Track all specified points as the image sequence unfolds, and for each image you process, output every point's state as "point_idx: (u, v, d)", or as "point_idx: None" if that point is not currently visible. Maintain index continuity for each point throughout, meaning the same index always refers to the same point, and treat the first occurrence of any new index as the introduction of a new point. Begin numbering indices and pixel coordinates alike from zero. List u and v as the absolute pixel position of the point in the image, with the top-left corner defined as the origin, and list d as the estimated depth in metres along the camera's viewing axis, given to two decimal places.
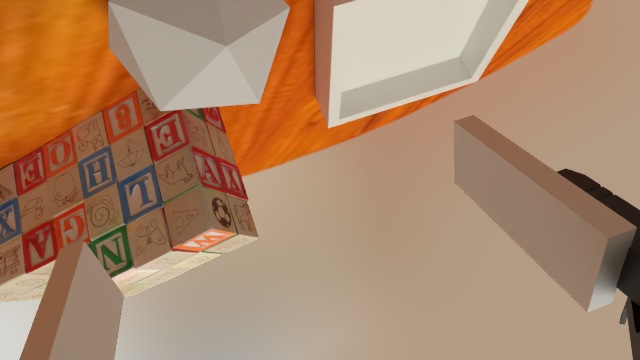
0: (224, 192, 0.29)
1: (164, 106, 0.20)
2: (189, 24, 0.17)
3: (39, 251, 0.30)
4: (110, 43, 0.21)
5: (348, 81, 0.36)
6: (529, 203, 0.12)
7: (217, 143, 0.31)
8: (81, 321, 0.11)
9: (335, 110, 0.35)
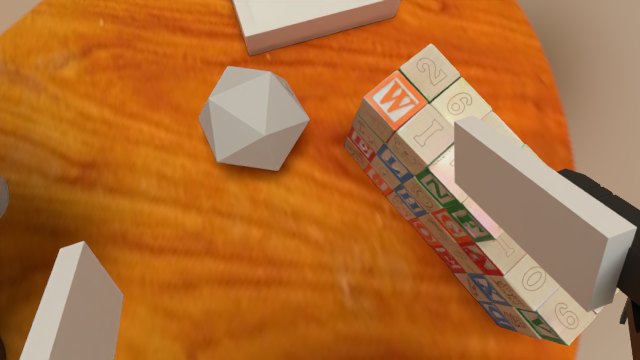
0: None
1: (260, 132, 0.30)
2: (210, 120, 0.32)
3: (482, 259, 0.29)
4: (268, 168, 0.34)
5: None
6: (529, 203, 0.12)
7: None
8: (81, 321, 0.11)
9: None
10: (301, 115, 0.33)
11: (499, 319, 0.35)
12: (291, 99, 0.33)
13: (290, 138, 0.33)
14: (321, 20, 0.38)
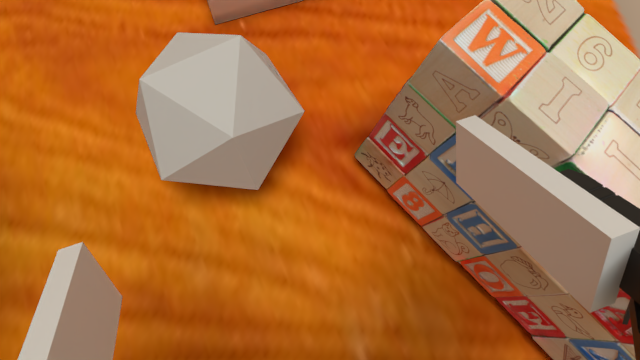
0: None
1: (225, 133, 0.19)
2: (146, 114, 0.20)
3: None
4: (242, 187, 0.23)
5: None
6: (531, 203, 0.12)
7: None
8: (79, 323, 0.11)
9: None
10: (291, 105, 0.22)
11: None
12: (275, 80, 0.21)
13: (275, 140, 0.22)
14: None
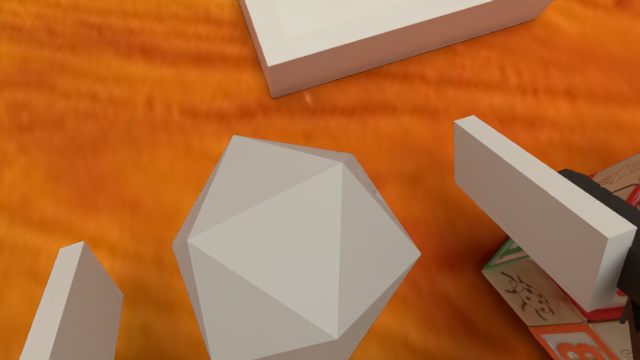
0: None
1: (324, 331, 0.12)
2: (194, 283, 0.13)
3: None
4: None
5: None
6: (529, 203, 0.12)
7: (610, 183, 0.16)
8: (81, 321, 0.11)
9: None
10: (406, 251, 0.14)
11: None
12: (386, 219, 0.14)
13: (381, 304, 0.14)
14: (417, 29, 0.19)
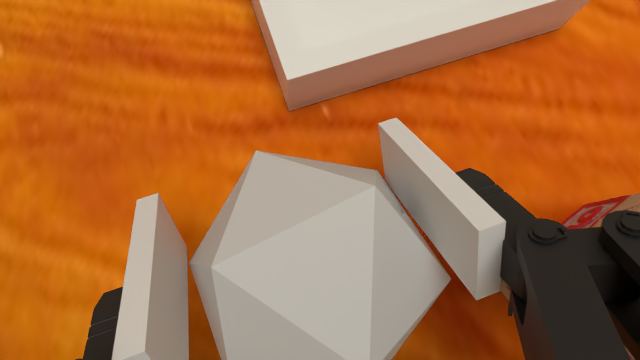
0: None
1: None
2: (216, 310, 0.12)
3: None
4: None
5: None
6: (431, 200, 0.13)
7: None
8: (165, 258, 0.13)
9: None
10: (437, 276, 0.14)
11: None
12: (417, 244, 0.13)
13: (410, 331, 0.14)
14: (441, 40, 0.18)
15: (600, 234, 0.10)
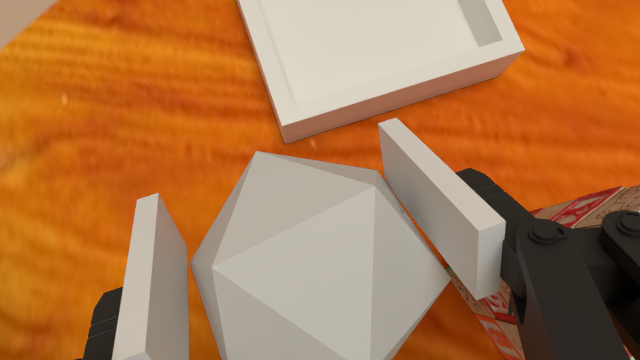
0: None
1: None
2: (217, 310, 0.12)
3: None
4: None
5: (453, 43, 0.27)
6: (430, 200, 0.13)
7: None
8: (165, 258, 0.13)
9: (476, 54, 0.24)
10: (437, 276, 0.14)
11: None
12: (417, 244, 0.13)
13: (410, 331, 0.14)
14: (398, 93, 0.24)
15: (599, 234, 0.10)
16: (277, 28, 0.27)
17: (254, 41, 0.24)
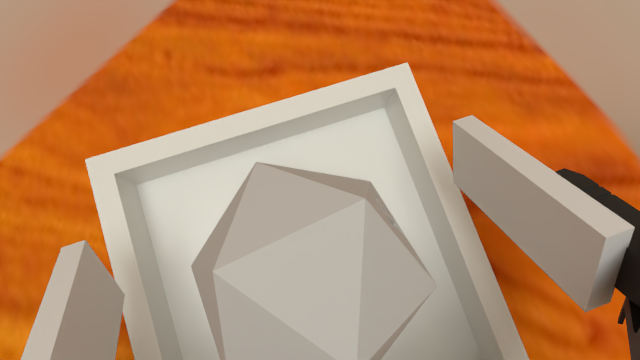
0: None
1: None
2: (216, 311, 0.13)
3: None
4: None
5: (438, 332, 0.20)
6: (527, 203, 0.12)
7: None
8: (83, 320, 0.11)
9: None
10: (423, 283, 0.15)
11: None
12: (405, 252, 0.14)
13: (397, 334, 0.15)
14: None
15: None
16: (192, 315, 0.19)
17: None
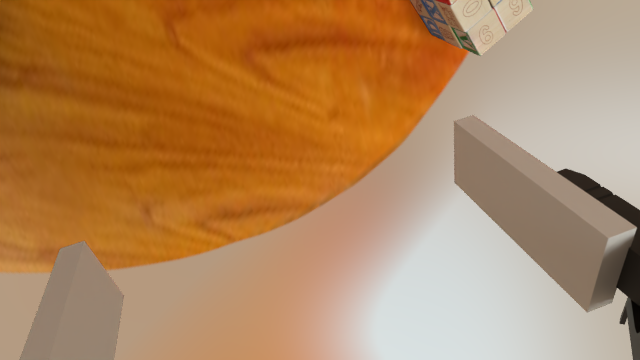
0: None
1: None
2: None
3: None
4: None
5: None
6: (529, 203, 0.12)
7: None
8: (81, 321, 0.11)
9: None
10: None
11: (433, 30, 0.44)
12: None
13: None
14: None
15: None
16: None
17: None
